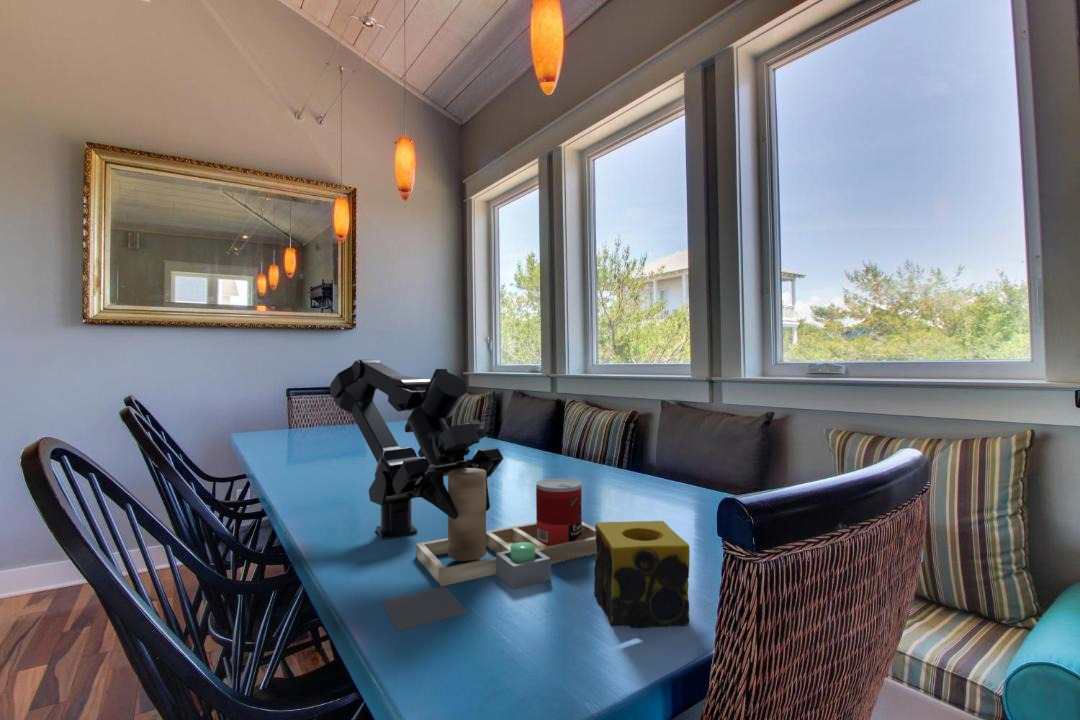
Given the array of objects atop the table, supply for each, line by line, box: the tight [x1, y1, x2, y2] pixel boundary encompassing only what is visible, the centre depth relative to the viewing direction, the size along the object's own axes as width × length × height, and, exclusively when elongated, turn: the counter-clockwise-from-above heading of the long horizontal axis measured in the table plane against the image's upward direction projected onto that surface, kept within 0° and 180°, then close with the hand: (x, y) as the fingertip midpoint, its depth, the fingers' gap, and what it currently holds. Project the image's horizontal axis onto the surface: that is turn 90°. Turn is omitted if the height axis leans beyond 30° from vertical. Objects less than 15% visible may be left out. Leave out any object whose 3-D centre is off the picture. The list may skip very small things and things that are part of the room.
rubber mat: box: [380, 586, 470, 633], centre depth 67 cm, size 9×9×1 cm
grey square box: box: [495, 549, 552, 590], centre depth 76 cm, size 6×6×4 cm
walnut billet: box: [447, 468, 487, 562], centre depth 82 cm, size 6×6×13 cm
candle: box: [593, 520, 690, 629], centre depth 67 cm, size 10×10×10 cm
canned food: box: [535, 477, 583, 546], centre depth 90 cm, size 8×8×11 cm
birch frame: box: [415, 521, 597, 587], centre depth 86 cm, size 13×30×2 cm, turn 119°
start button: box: [511, 542, 535, 564], centre depth 76 cm, size 4×4×3 cm
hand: (472, 513), depth 81 cm, fingers closed on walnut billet, 6 cm apart
